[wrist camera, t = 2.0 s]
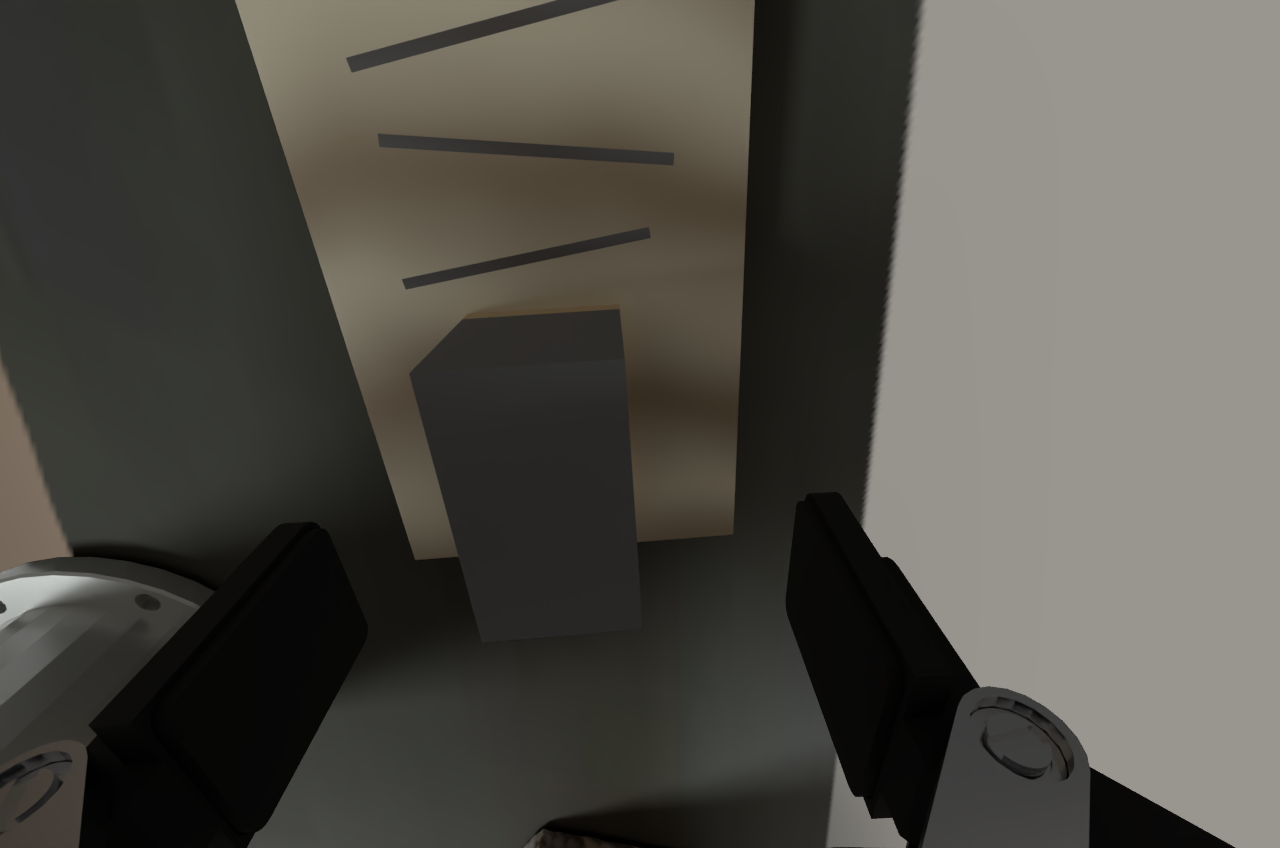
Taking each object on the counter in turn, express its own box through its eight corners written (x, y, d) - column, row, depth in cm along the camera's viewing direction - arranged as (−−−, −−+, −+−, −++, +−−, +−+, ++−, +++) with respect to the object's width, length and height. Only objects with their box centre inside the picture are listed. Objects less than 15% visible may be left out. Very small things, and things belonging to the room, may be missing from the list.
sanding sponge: (633, 520, 19) (642, 629, 14) (511, 529, 19) (481, 642, 14) (618, 304, 15) (624, 358, 11) (467, 314, 15) (408, 373, 10)
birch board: (724, 509, 21) (733, 534, 19) (428, 532, 20) (415, 560, 19) (753, -482, 10) (778, -593, 9) (130, -473, 10) (46, -587, 8)
